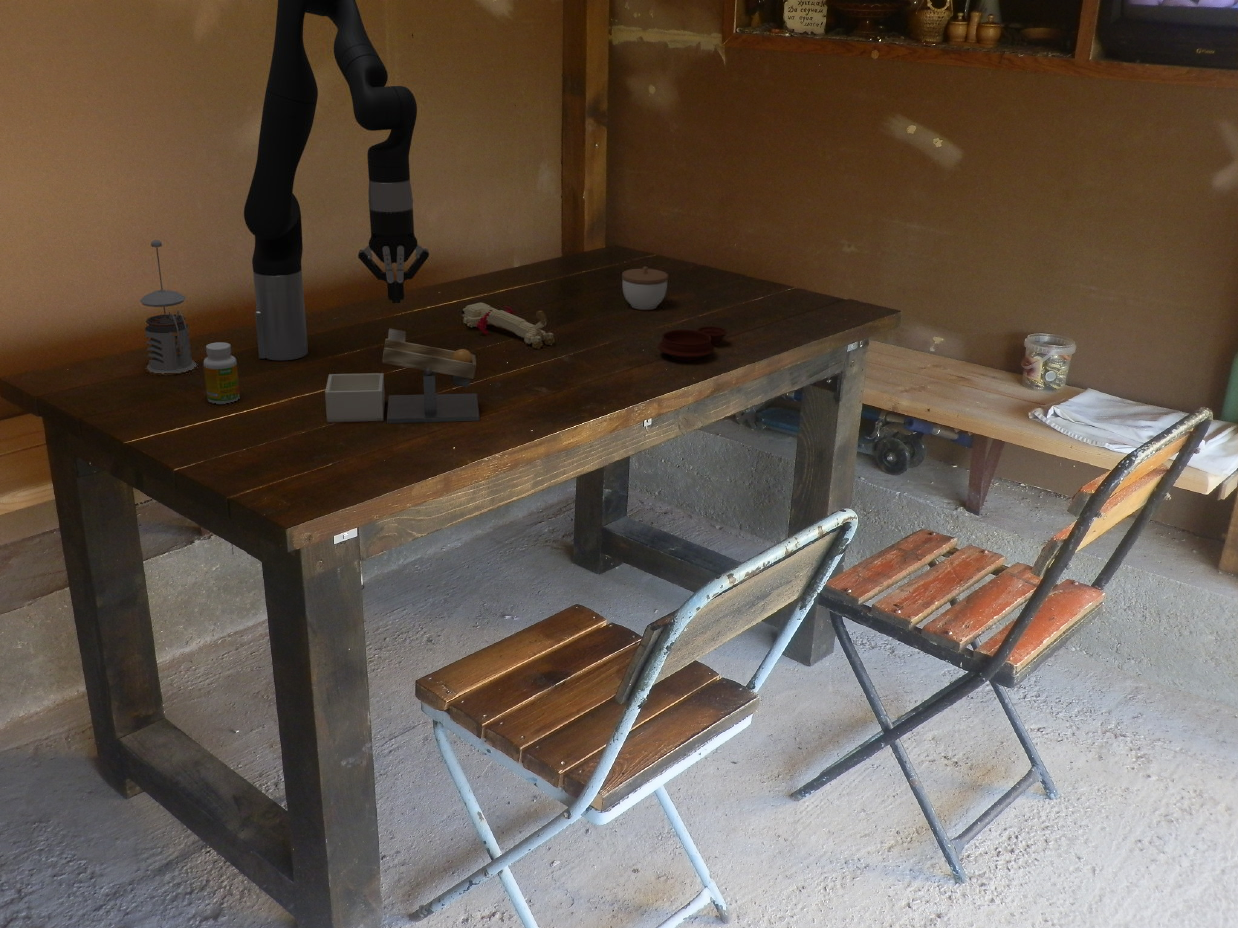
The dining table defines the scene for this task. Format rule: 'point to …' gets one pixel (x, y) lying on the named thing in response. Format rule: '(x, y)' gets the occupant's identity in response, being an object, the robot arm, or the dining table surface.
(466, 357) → the ball
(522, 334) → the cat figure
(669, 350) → the pottery
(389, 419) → the stand
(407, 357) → the chute
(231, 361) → the supplement bottle
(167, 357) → the french press
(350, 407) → the open grey tray box
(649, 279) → the lidded jar
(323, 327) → the dining table surface
